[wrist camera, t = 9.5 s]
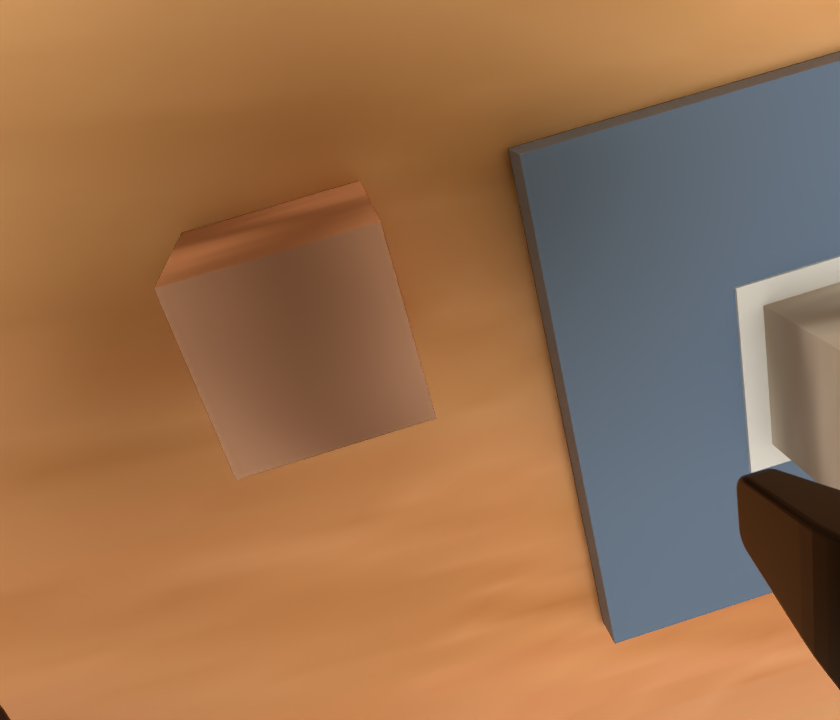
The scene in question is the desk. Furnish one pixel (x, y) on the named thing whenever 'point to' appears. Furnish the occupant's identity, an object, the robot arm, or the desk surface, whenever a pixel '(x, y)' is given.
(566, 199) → the board
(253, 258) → the terracotta block
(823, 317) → the off-white block
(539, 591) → the desk surface
